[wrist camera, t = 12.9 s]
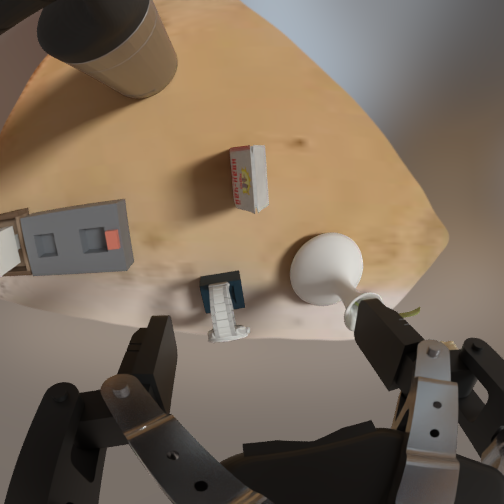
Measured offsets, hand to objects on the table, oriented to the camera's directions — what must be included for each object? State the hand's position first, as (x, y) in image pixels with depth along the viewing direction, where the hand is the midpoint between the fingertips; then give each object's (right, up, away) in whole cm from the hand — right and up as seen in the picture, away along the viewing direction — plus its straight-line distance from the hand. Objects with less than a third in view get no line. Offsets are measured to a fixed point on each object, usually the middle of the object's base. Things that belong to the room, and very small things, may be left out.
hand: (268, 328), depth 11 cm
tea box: (-1, +13, +25) cm, 28 cm away
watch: (-5, -2, +30) cm, 30 cm away
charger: (-40, +5, +23) cm, 46 cm away
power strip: (-26, +5, +25) cm, 36 cm away
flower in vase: (+11, +1, +31) cm, 33 cm away
